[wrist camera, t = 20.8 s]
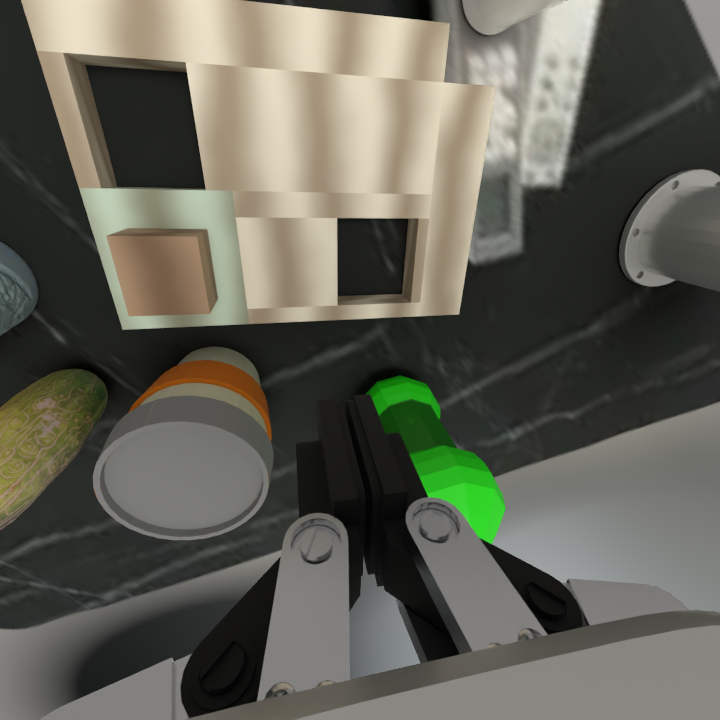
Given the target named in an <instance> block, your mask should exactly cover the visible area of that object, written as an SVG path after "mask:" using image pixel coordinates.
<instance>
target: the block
mask: <svg viewBox="0 0 720 720" xmlns="http://www.w3.org/2000/svg"><path fill="white" fill-rule="evenodd" d="M106 237H107V241H108V244H109V248H110V251H111V255H112V258H113V262H114V265H115V269H116V273H117V276H118V280H119V283H120V287H121V290H122V294H123V298H124V301H125V305H126V308H127V312H128V315H129V316H158V315H192V314H210V313H211V311H212V309H213V307H214V305H215V304H216V302H217V300H218V295H217V289H216V282H215V276H214V270H213V263H212V257H211V250H210V244H209V237H208V231H207V229H157V228H127V229H124V230H121V231H119V232H116V233H113V234H110V235H107V236H106Z"/></svg>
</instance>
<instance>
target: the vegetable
mask: <svg viewBox="0 0 720 720" xmlns="http://www.w3.org/2000/svg"><path fill="white" fill-rule="evenodd" d="M107 398H108V392H107V388H106V386H105V384H104V383H103V381H102V380H101V379H100V378H98V377H97V376H96V375H95V374H93V373H91V372H89V371H86V370H82V369H66V370H61V371H57V372H54V373H51V374H49V375H47V376H45V377H43V378H41V379H40V380H38V381H36V382H34V383H33V384H31V385H30V386H28V387H27V388H25V389H24V390H22V391H21V392H19V393H18V394H16V395H15V396H14V397H13V398H11V399H10V400H9V401H8V402H7V403H5V404H4V405H3V406H2V407H1V408H0V530H1V529H3V528H4V527H6V526H7V525H8V524H10V523H11V522H13V521H14V520H15V519H16V518H17V517H18V516H19V515H20V514H21V513H22V512H24V511H25V510H26V509H27V508H28V507H29V506H30V505H31V504H32V503H33V502H34V501H35V500H36V498H37V497H38V496H39V495H40V494H41V493H42V492H43V491H44V490H45V488H46V487H47V486H48V485H49V484H50V483H51V482H52V481H53V480H54V479H55V478H56V477H57V476H58V475H59V474H60V473H61V472H62V471H63V470H64V469H65V468H66V467H67V466H68V464H69V463H70V462H71V461H72V460H73V459H74V457H75V456H76V455H77V454H78V452H79V451H80V450H81V448H82V447H83V445H84V444H85V442H86V441H87V439H88V438H89V436H90V434H91V433H92V431H93V429H94V427H95V426H96V424H97V422H98V421H99V419H100V418H101V416H102V414H103V412H104V410H105V407H106V404H107Z"/></svg>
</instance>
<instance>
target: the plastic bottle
mask: <svg viewBox="0 0 720 720" xmlns="http://www.w3.org/2000/svg"><path fill="white" fill-rule="evenodd" d="M366 394H370V395H371V397H372V400H373V402H374V405H375V407H376V410H377V412H378V415H379V418H380V420H381V423H382V425H383V428H384V430H385V433H386V434H387V433H397V432H398V433H399V434H400V435H401V437H402V439H403V441H404V444H405V446H406V448H407V450H408V453H409V455H410V457H411V459H412V462H413V464H414V466H415V468H416V471H417V473H418V475H419V477H420V480H421V482H422V484H423V486H424V488H425V491H426V493H427V495H428V497H433V498H440V499H442V500H445V501H448V502H449V503H451V504H452V505H454V506H455V507H456V508H457V509H458V510H459V511H460V512H461V513H462V514H463V516H464V517H465V519H466V520H467V522H468V523H469V524H470V526H471V527H472V529H473V530H474V531H475V533H476V534H477V536H478V537H479V538H481V539H483V540H484V541H486V542H488V543H490V544H492V543H493V540H494V538H495V535H496V533H497V531H498V528H499V525H500V522H501V520H502V517H503V514H504V512H505V504H504V499H503V495H502V493H501V491H500V489H499V487H498V485H497V483H496V481H495V479H494V478H493V476H492V474H491V472H490V471H489V469H488V468H487V466H486V465H485V463H484V462H483V461H482V460H481V459H480V458H479V457H478V456H476V455H475V454H474V453H473V452H469V451H465V450H461V449H457V447H456V446H455V444H454V442H453V441H452V439H451V438H450V436H449V434H448V433H447V431H446V430H445V428H444V426H443V425H442V423H441V422H440V420H439V419H440V406H439V405H438V403H437V401H436V399H435V398H434V396H433V394H432V392H431V390H430V389H429V387H428V386H427V384H425V383H422V382H420V381H417V380H414V379H410V378H407V377H404V376H401V375H399V376H396V377H392V378H389V379H385V380H381V381H378V382H376V383H375V384H374V386H373V387H372V388H371V389H370V390H369V391H368V392H367V393H366ZM366 394H365V395H366Z"/></svg>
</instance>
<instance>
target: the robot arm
mask: <svg viewBox="0 0 720 720" xmlns="http://www.w3.org/2000/svg"><path fill="white" fill-rule="evenodd" d="M619 260H620V265H621V268H622V271H623V272H624V274H625V275H626V277H627V278H628V279H630V280H631V281H633V282H635V283H638V284H640V285H644V286H649V287H655V286H661V285H666V284H668V283H671V282H673V281H675V280H678V281H682V282H686V283H689V284H693V285H697V286H700V287H704V288H707V289H711V290H715V291H718V292H720V176H719V175H717V174H716V173H714V172H712V171H709V170H703V169H694V170H685V171H681V172H678V173H676V174H673V175H671V176H669V177H667V178H666V179H664V180H663V181H661V182H659V183H658V184H657V185H656V186H655V187H653V188H652V189H651V190H650V191H649V192H648V193H647V194H646V195H645V196H644V197H643V198H642V200H641V201H640V202H639V203H638V205H637V206H636V208H635V209H634V210H633V212H632V214H631V216H630V217H629V219H628V221H627V223H626V225H625V228H624V231H623V233H622V237H621V241H620V247H619ZM317 405H318V432H319V441H311V442H302V443H296V454H297V476H298V498H299V519H298V520H297V521H295V522H294V523H293V524H292V525H291V526H290V528H289V529H288V531H287V532H286V535H285V538H284V541H283V547H282V553H281V557H280V558H279V559H278V560H277V561H276V562H275V563H274V564H273V565H272V566H271V568H270V569H269V570H268V571H267V572H266V573H265V574H264V575H263V576H262V577H261V578H260V579H259V580H258V582H257V583H256V584H255V585H254V586H253V587H252V588H251V589H250V590H249V591H248V592H247V593H246V594H245V595H244V596H243V598H242V599H241V600H240V601H239V602H238V603H237V604H236V605H235V606H234V607H233V608H232V609H231V610H230V612H229V613H228V614H227V615H226V616H225V617H224V618H223V619H222V620H221V621H220V622H219V624H218V625H216V627H215V628H214V629H213V630H212V631H211V632H210V633H209V634H208V635H207V636H206V637H205V638H204V639H203V640H202V642H201V643H200V644H199V645H198V647H197V648H196V649H195V651H194V652H193V653H192V654H191V655H188V656H186V657H184V658H182V659H179V660H177V661H175V662H174V661H173V659H172V658H170V659H168V660H165V661H163V662H161V663H159V664H156V665H154V666H152V667H150V668H147V669H145V670H143V671H141V672H138V673H136V674H134V675H132V676H129V677H127V678H125V679H123V680H120V681H118V682H116V683H114V684H111V685H109V686H107V687H105V688H102V689H100V690H98V691H96V692H93V693H91V694H89V695H87V696H84V697H82V698H80V699H78V700H75V701H73V702H71V703H69V704H66V705H64V706H62V707H60V708H58V709H56V710H55V711H53V712H51V713H50V714H48V715H46V716H45V717H43V718H42V719H40V720H720V612H715V611H702V610H688V608H687V607H686V606H685V605H684V604H683V603H682V602H681V601H679V600H678V599H677V598H676V597H674V596H672V594H670V593H668V592H666V591H664V590H663V589H660V588H659V587H656V586H651V585H647V584H636V583H621V582H607V581H592V580H578V579H568V580H567V582H566V583H561V582H560V581H558V580H557V579H555V578H554V577H552V576H550V575H549V574H547V573H545V572H543V571H541V570H539V569H537V568H536V567H533V566H532V565H530V564H528V563H526V562H524V561H522V560H520V559H519V558H517V557H515V556H513V555H511V554H509V553H507V552H505V551H503V550H501V549H500V548H498V547H496V546H494V545H492V544H490V543H488V542H486V541H484V540H483V539H481V538H479V537H478V536H477V534H476V533H475V531H474V530H473V529H472V527H471V526H470V524H469V523H468V522H467V520H466V519H465V517H464V516H463V514H462V513H461V512H460V511H459V510H458V509H457V508H456V507H455V506H454V505H452V504H451V503H449V502H448V501H445V500H442V499H440V498H433V497H428V495H427V493H426V491H425V488H424V486H423V484H422V482H421V480H420V477H419V475H418V473H417V471H416V468H415V466H414V464H413V462H412V459H411V457H410V455H409V453H408V450H407V448H406V446H405V444H404V441H403V439H402V437H401V435H400V434H399V433H398V432H397V433H387V434H386V433H385V430H384V428H383V425H382V423H381V420H380V418H379V415H378V412H377V410H376V407H375V405H374V402H373V400H372V397H371V395H370V394H366V395H355V396H353V397H352V400H349V401H347V402H346V415H345V411H344V407H343V403H342V401H338V402H336V400H335V397H331V398H319V399H317ZM363 556H364V559H365V564H366V569H367V572H368V574H369V575H370V574H375V577H376V582H377V586H384V588H385V591H386V592H388V593H390V594H391V595H393V596H394V597H395V598H396V602H397V606H398V609H399V612H400V614H401V617H402V619H403V621H404V624H405V626H406V629H407V631H408V634H409V636H410V638H411V641H412V643H413V646H414V648H415V651H416V653H417V655H418V658H419V661H420V663H421V664H416V665H412V666H408V667H403V668H399V669H394V670H390V671H386V672H381V673H377V674H373V675H369V676H364V677H360V678H355V679H351V680H350V657H349V656H350V652H349V611H350V610H351V608H352V607H353V605H354V604H355V602H356V601H357V599H358V598H359V596H360V587H361V576H362V574H363Z"/></svg>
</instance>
